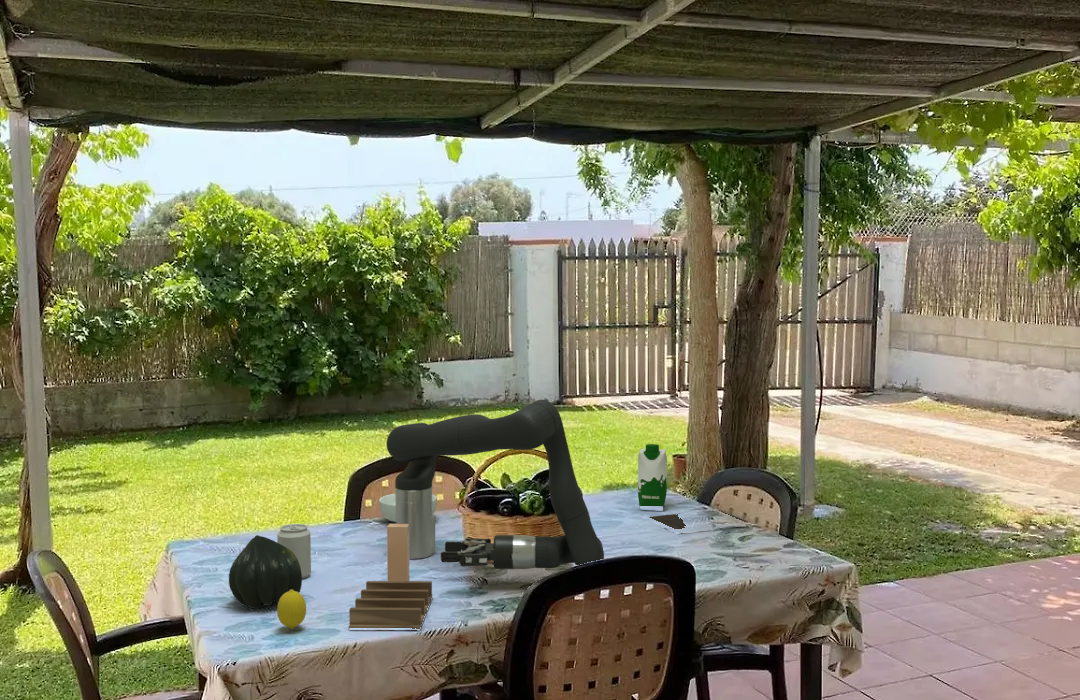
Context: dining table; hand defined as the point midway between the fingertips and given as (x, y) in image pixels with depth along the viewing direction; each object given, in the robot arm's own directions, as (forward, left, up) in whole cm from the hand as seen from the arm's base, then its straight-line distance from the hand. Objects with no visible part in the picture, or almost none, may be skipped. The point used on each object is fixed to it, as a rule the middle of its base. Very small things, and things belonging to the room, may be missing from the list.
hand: (443, 551), depth 217 cm
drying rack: (+19, +5, -8) cm, 22 cm away
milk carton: (-96, -8, -8) cm, 96 cm away
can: (+17, -32, -8) cm, 37 cm away
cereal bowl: (-36, -52, -8) cm, 63 cm away
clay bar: (+6, -8, -8) cm, 13 cm away
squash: (+32, -21, -8) cm, 39 cm away
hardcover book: (-87, +13, -9) cm, 89 cm away
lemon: (+38, -3, -8) cm, 39 cm away
